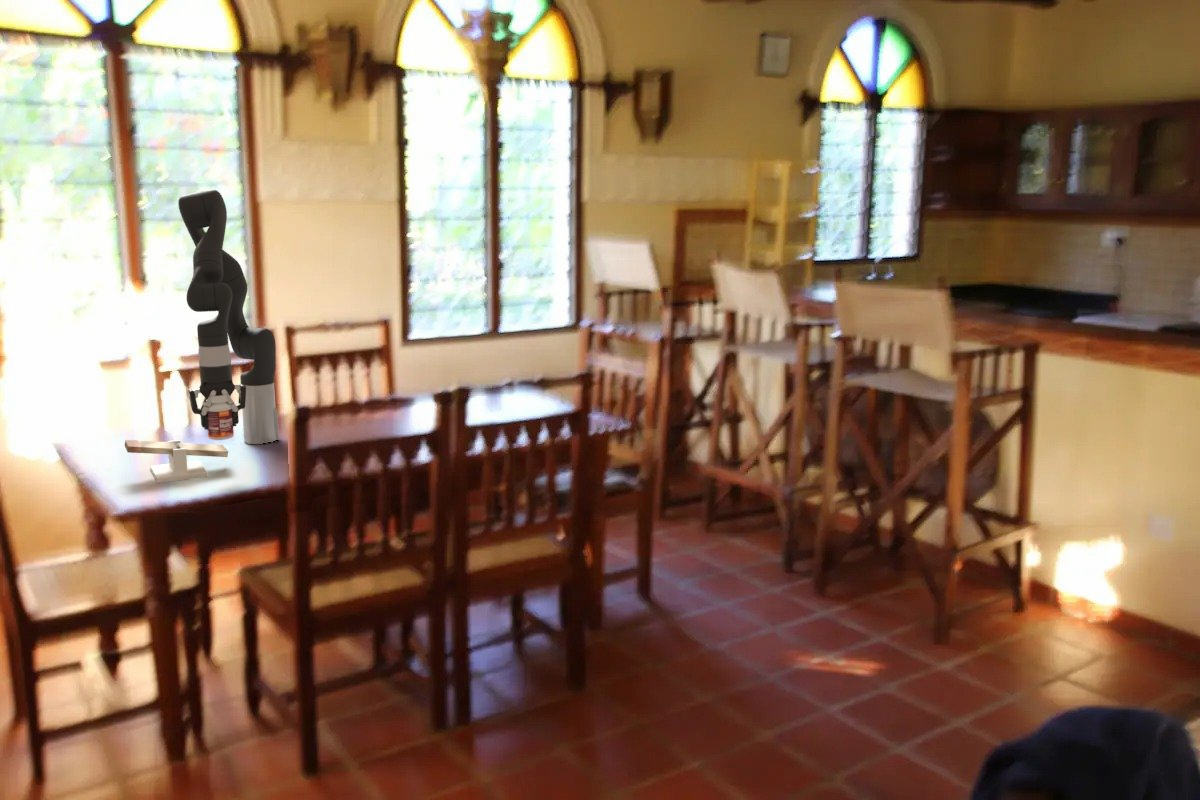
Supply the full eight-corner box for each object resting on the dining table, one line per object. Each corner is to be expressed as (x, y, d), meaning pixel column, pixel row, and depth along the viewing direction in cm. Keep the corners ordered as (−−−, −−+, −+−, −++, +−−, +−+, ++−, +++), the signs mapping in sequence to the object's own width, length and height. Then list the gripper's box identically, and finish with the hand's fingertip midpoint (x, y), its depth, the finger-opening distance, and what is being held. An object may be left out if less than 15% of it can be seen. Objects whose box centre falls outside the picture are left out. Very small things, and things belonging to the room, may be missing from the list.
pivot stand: (198, 463, 282) (196, 436, 280) (207, 476, 270) (205, 448, 268) (150, 469, 276) (148, 441, 274) (157, 482, 264) (155, 453, 263)
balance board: (221, 450, 281) (222, 444, 281) (227, 458, 274) (228, 451, 274) (124, 445, 269) (125, 439, 269) (127, 453, 262) (128, 446, 262)
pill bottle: (224, 441, 264) (220, 397, 261) (203, 439, 265) (199, 395, 263) (239, 435, 269) (235, 392, 267) (218, 433, 271) (215, 390, 269)
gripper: (241, 357, 270) (246, 421, 273) (182, 362, 263) (187, 427, 266) (247, 362, 263) (252, 427, 267) (187, 367, 256) (192, 434, 260)
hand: (220, 427), depth 267 cm, fingers closed on pill bottle, 6 cm apart
